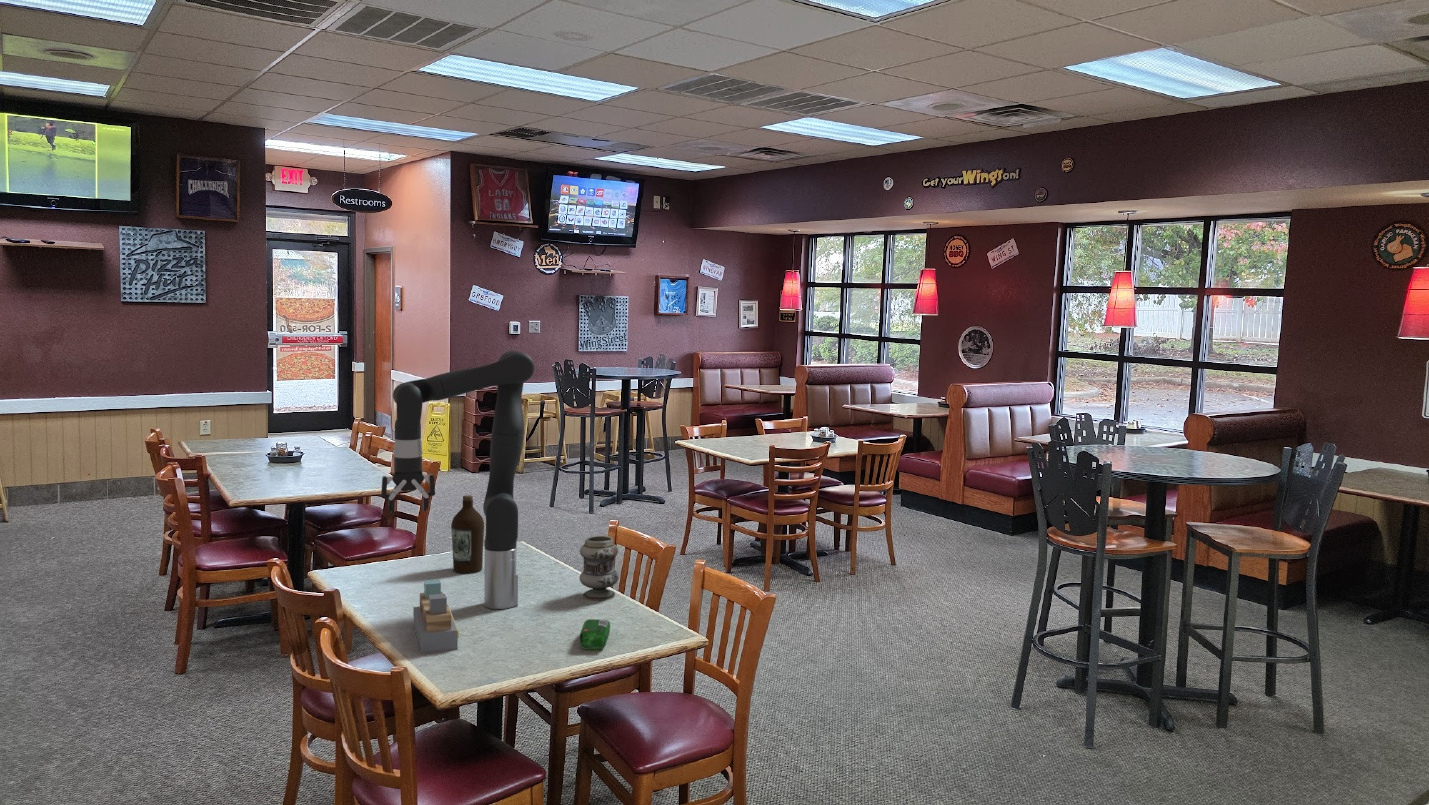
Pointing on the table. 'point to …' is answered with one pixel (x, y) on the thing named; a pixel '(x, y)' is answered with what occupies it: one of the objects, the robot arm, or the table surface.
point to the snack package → (594, 634)
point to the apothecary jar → (599, 567)
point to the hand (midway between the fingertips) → (408, 511)
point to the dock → (434, 635)
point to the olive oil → (467, 538)
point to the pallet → (434, 617)
